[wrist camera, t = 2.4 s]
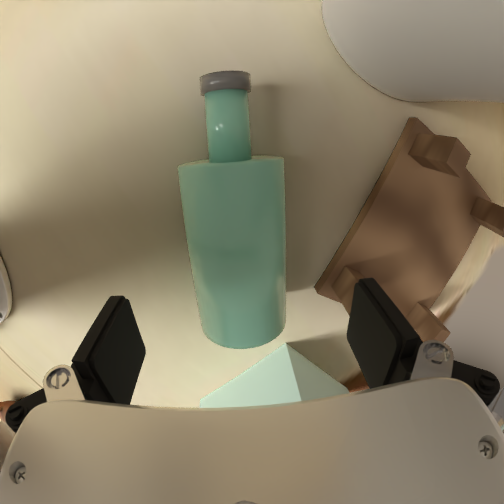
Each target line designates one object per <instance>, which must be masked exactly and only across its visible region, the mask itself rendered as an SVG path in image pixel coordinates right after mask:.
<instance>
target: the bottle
mask: <svg viewBox="0 0 504 504" xmlns="http://www.w3.org/2000/svg"><path fill="white" fill-rule="evenodd" d="M200 90H201V95H202V96H204V97H205V112H206V127H207V140H208V153H209V159H204V160H198V161H193V162H188V163H184V164H181V165H179V166H178V176H179V185H180V193H181V202H182V209H183V217H184V224H185V231H186V238H187V245H188V251H189V258H190V264H191V270H192V276H193V282H194V288H195V293H196V299H197V304H198V309H199V315H200V320H201V325H202V329H203V332H204V334H205V335H206V336H207V338H209V339H210V340H211V341H212V342H214V343H216V344H218V345H220V346H223V347H228V348H234V349H247V348H254V347H258V346H261V345H264V344H266V343H268V342H270V341H272V340H273V339H275V338H276V337H277V336H279V334H280V333H281V332H282V331H283V329H284V327H285V323H286V220H285V180H284V158H283V157H279V156H267V155H251V140H250V123H249V106H248V93H249V92H251V80H250V74H249V73H247V72H243V71H221V72H214V73H209V74H206V75H203V76H201V77H200Z"/></svg>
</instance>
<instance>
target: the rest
mask: <svg viewBox="0 0 504 504" xmlns="http://www.w3.org/2000/svg"><path fill="white" fill-rule="evenodd" d="M470 155H471V154H470V153H469V151H468V150H467V149H466V148H465V147H464V145H463V144H462V143H461V142H460V141H459V140H458V138H454V137H447V136H440V135H434V134H433V133H432V132H431V131H430V130H429V129H428V128H427V127H426V126H425V125H424V124H423V123H422V122H421V121H420V120H419V119H418V118H409V119H408V122H407V124H406V126H405V128H404V130H403V132H402V134H401V136H400V138H399V140H398V142H397V144H396V146H395V148H394V150H393V152H392V154H391V156H390V158H389V160H388V162H387V164H386V166H385V168H384V170H383V172H382V173H381V175H380V177H379V179H378V181H377V183H376V185H375V186H374V188H373V190H372V192H371V194H370V196H369V197H368V199H367V201H366V203H365V204H364V206H363V208H362V210H361V212H360V213H359V215H358V217H357V219H356V220H355V222H354V224H353V225H352V227H351V229H350V230H349V232H348V234H347V236H346V237H345V239H344V241H343V242H342V244H341V245H340V247H339V249H338V250H337V252H336V254H335V255H334V257H333V259H332V260H331V262H330V263H329V265H328V267H327V268H326V270H325V271H324V273H323V274H322V276H321V278H320V279H319V281H318V282H317V284H316V285H315V287H314V288H315V290H316V291H317V293H318V294H320V295H322V296H325V297H327V298H330V299H332V300H335V301H337V302H340V303H342V304H343V306H344V307H345V309H346V311H347V312H348V314H349V316H350V312H351V306H352V299H353V292H354V286H355V283H358V281H359V279H363V278H371V277H372V278H374V279H375V280H376V282H377V283H378V284H379V285H380V286H381V288H382V289H383V290H384V291H385V293H386V294H387V295H388V296H389V297H390V299H391V300H392V301H393V303H394V304H395V305H396V306H397V308H398V309H399V310H400V311H401V313H402V314H403V315H404V317H405V318H406V319H407V320H408V322H409V323H410V324H411V326H412V327H413V328H414V329H415V331H416V332H417V333H418V334H419V336H420V337H421V338H422V339H423V341H424V342H425V341H428V340H438V341H441V342H444V341H445V340H446V338H447V337H448V336H449V334H450V332H449V331H448V329H447V328H446V327H445V326H444V325H443V324H442V323H441V322H440V321H439V319H438V318H437V317H436V316H435V315H434V314H433V313H432V312H431V311H430V310H429V309H430V307H431V306H432V305H433V303H434V302H435V300H436V299H437V297H438V296H439V295H440V293H441V292H442V290H443V289H444V287H445V285H446V284H447V282H448V281H449V279H450V278H451V276H452V274H453V273H454V271H455V270H456V268H457V266H458V265H459V263H460V261H461V259H462V258H463V256H464V254H465V252H466V251H467V249H468V247H469V245H470V243H471V242H472V240H473V238H474V236H475V234H476V232H477V230H478V228H479V226H480V224H481V225H483V226H484V227H486V228H488V229H490V230H492V231H494V232H495V233H497V234H499V235H501V236H503V237H504V208H503V207H501V206H499V205H497V204H494V203H492V202H491V200H490V198H489V197H488V196H487V194H486V193H485V192H484V190H483V189H482V188H481V186H480V185H479V184H478V183H477V181H476V180H475V179H474V178H473V176H472V175H471V174H470V173H469V172H468V170H467V169H466V168H465V167H466V165H467V162H468V160H469V157H470Z"/></svg>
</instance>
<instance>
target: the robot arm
mask: <svg viewBox="0 0 504 504" xmlns="http://www.w3.org/2000/svg"><path fill="white" fill-rule="evenodd" d="M11 306H12V292H11V287H10V282H9V278H8V275H7V271H6V269H5V266H4V263H3V261H2V259H1V256H0V323H2V322H3V321H4V320H5V319H6V318H7V316H8V315H9V313H10V311H11ZM347 340H348V342H349V344H350V346H351V349H352V351H353V353H354V355H355V357H356V359H357V361H358V364H359V366H360V368H361V370H362V372H363V375H364V377H365V379H366V381H367V383H368V386H369V388H370V389H367V390H362V391H357V392H352V393H347V394H342V395H337V396H331V397H325V398H319V399H312V400H305V401H298V402H290V403H281V404H271V405H260V406H245V407H223V408H175V407H154V406H140V405H130V402H131V399H132V395H133V392H134V389H135V386H136V382H137V379H138V376H139V373H140V370H141V367H142V363H143V360H144V357H145V353H146V350H145V346H144V343H143V340H142V337H141V335H140V332H139V329H138V326H137V323H136V320H135V317H134V314H133V311H132V308H131V305H130V302H129V300H128V299H125V297H124V296H110V297H109V299H108V301H107V302H106V304H105V305H104V307H103V308H102V310H101V311H100V313H99V315H98V316H97V318H96V319H95V321H94V323H93V324H92V326H91V328H90V329H89V331H88V333H87V334H86V336H85V338H84V339H83V341H82V343H81V345H80V346H79V348H78V350H77V352H76V353H75V355H74V357H73V359H72V362H73V363H72V365H71V367H70V366H67V365H58V366H55V367H53V368H52V369H50V370H49V371H48V372H47V373H46V375H45V376H44V379H43V387H44V388H43V389H41V390H39V391H37V392H35V393H33V394H31V395H29V396H27V397H25V398H23V399H21V400H19V401H17V402H15V403H14V404H12V405H11V406H10V407H9V408H8V410H7V412H6V416H5V421H6V422H5V423H4V422H3V421H1V422H0V504H504V388H503V389H502V390H501V389H500V384H499V381H498V379H497V378H496V376H495V375H494V374H492V373H491V372H488V371H486V370H483V369H479V368H476V367H473V366H470V365H467V364H464V363H461V362H457V361H454V360H453V359H454V356H453V351H452V349H451V348H450V347H449V346H448V345H447V344H445V343H444V342H441V341H438V340H428V341H425V342H424V343H423V342H422V340H421V339H420V336H419V335H418V334H417V332H416V331H415V330H414V328H413V327H412V326H411V324H410V323H409V322H408V320H407V319H406V318H405V317H404V315H403V314H402V313H401V311H400V310H399V309H398V308H397V306H396V305H395V304H394V303H393V301H392V300H391V299H390V297H389V296H388V295H387V294H386V293H385V291H384V290H383V289H382V288H381V286H380V285H379V284H378V283H377V282H376V280H375V279H374V278H372V277H371V278H363V279H359V281H358V283H355V286H354V292H353V299H352V306H351V312H350V318H349V324H348V330H347Z"/></svg>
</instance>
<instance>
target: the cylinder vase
mask: <svg viewBox="0 0 504 504" xmlns="http://www.w3.org/2000/svg"><path fill="white" fill-rule="evenodd" d="M322 16H323V21H324V24H325V28H326V30H327V33H328V35H329V37H330V39H331V41H332V43H333V45H334V46H335V48H336V50H337V51H338V53H339V54H340V55H341V57H342V58H343V59H344V61H345V62H346V63H347V64H348V65H349V66H350V68H351V69H352V70H353V71H354V72H355V73H356V74H358V75H359V76H360V77H361V78H362V79H363V80H364V81H366V82H367V83H368V84H370V85H371V86H373V87H374V88H376V89H377V90H379V91H381V92H383V93H385V94H387V95H389V96H391V97H394V98H397V99H400V100H404V101H409V102H429V101H482V102H500V103H504V0H322Z"/></svg>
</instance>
